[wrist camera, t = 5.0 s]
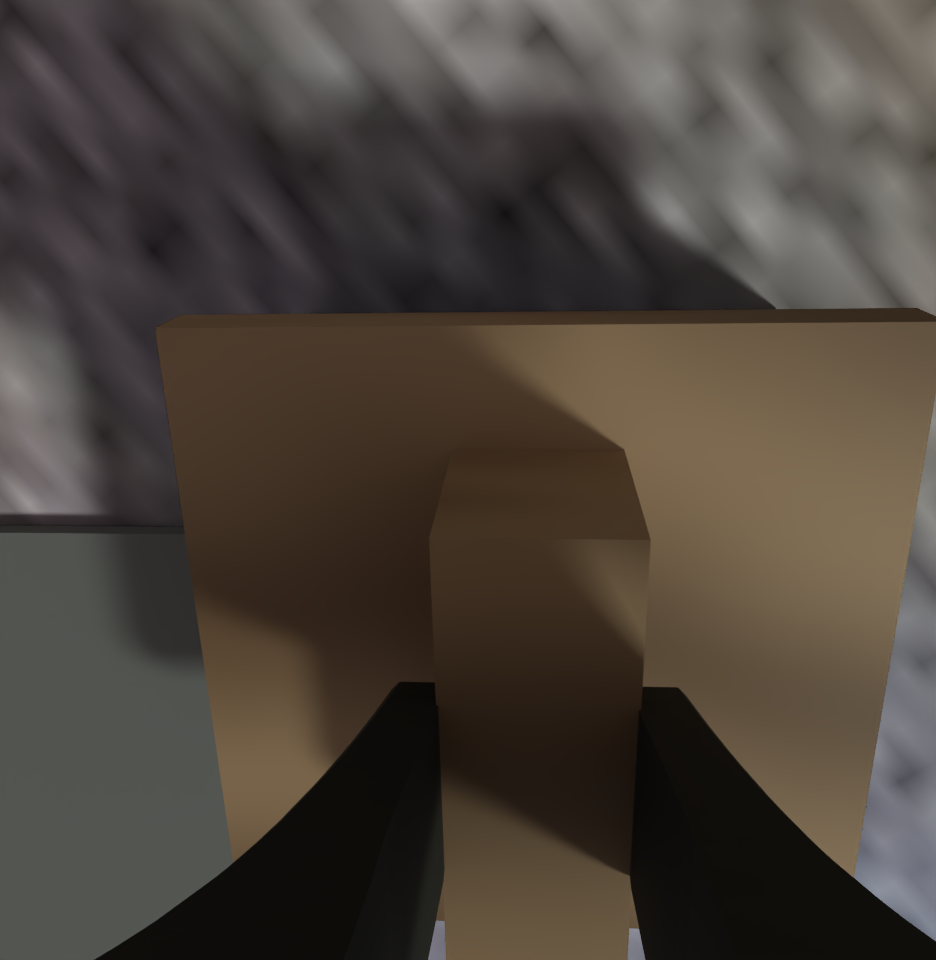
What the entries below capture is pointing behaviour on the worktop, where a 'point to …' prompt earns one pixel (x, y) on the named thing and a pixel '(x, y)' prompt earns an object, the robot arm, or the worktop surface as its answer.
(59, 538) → the mat
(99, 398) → the worktop surface
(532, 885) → the lid
